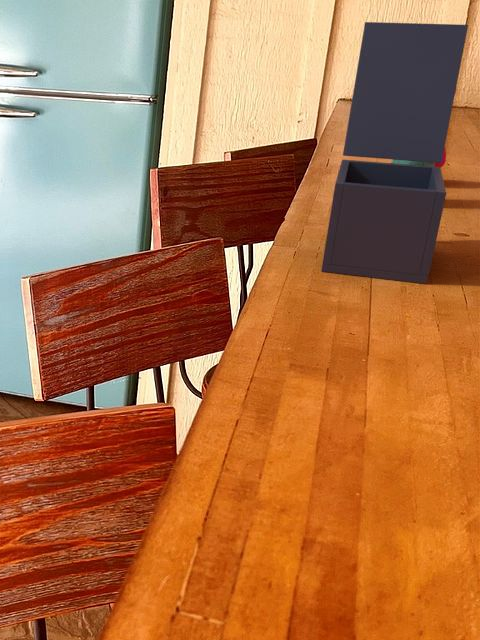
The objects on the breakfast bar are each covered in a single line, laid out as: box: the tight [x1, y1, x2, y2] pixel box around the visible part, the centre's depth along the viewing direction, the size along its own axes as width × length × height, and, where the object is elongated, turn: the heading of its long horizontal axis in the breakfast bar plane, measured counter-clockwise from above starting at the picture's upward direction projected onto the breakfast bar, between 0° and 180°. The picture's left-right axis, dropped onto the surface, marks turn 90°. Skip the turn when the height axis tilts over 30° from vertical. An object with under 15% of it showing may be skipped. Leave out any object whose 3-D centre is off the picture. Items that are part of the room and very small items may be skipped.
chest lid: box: [342, 21, 469, 163], centre depth 114 cm, size 17×12×1 cm
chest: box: [320, 159, 447, 285], centre depth 112 cm, size 16×12×11 cm
